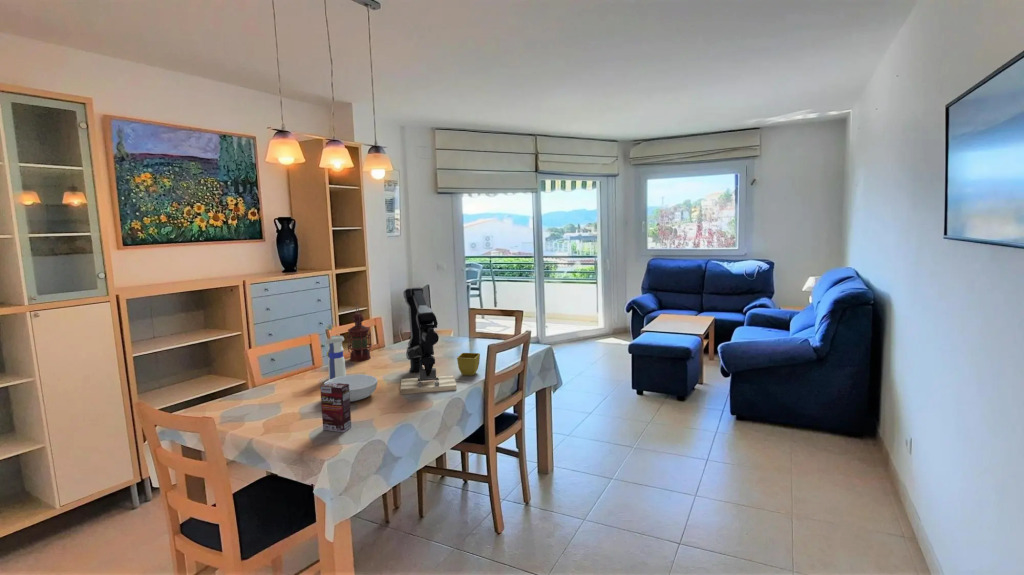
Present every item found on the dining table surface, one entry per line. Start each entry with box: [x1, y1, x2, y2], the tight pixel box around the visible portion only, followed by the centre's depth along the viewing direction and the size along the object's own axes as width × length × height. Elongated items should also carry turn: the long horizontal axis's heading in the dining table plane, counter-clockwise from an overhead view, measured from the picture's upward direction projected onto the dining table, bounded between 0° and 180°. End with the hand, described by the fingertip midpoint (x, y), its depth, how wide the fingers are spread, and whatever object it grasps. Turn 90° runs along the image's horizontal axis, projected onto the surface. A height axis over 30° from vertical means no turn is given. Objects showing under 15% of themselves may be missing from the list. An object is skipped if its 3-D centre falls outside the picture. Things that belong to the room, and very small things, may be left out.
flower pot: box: [456, 352, 481, 376], centre depth 238 cm, size 9×9×9 cm
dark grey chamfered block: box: [419, 367, 437, 379], centre depth 224 cm, size 3×7×4 cm, turn 100°
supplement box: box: [319, 382, 352, 433], centre depth 177 cm, size 9×5×16 cm, turn 75°
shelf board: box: [400, 375, 457, 395], centre depth 222 cm, size 14×23×4 cm, turn 100°
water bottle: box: [325, 323, 347, 380], centre depth 234 cm, size 8×8×25 cm
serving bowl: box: [323, 374, 378, 403], centre depth 209 cm, size 21×21×7 cm
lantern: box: [346, 301, 373, 362], centre depth 268 cm, size 12×12×30 cm
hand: (427, 375), depth 225 cm, fingers closed on dark grey chamfered block, 3 cm apart
